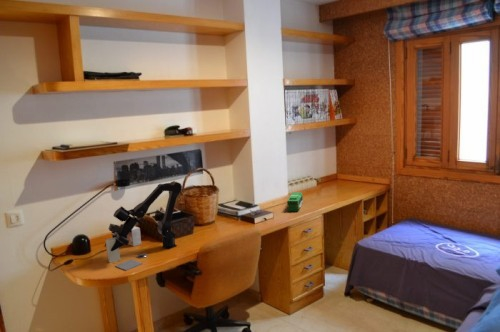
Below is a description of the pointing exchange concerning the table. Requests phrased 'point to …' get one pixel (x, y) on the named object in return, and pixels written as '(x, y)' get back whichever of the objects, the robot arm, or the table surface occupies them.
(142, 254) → the cable grommet
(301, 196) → the toy bus
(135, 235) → the small box
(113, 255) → the sage pillar
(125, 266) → the slate mat
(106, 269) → the table surface
